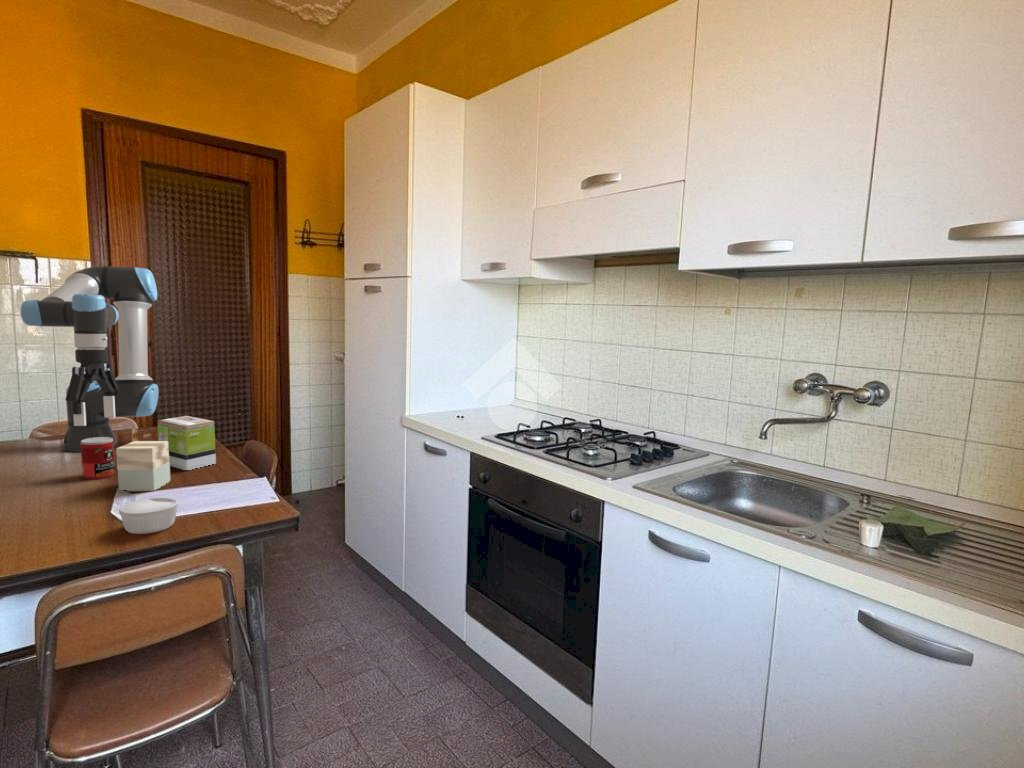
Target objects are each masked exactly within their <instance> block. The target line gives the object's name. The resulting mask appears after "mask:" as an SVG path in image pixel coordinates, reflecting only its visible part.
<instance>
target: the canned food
mask: <svg viewBox="0 0 1024 768" xmlns="http://www.w3.org/2000/svg"><path fill="white" fill-rule="evenodd" d="M114 448H115V446H114V444H113V438H111V437H94V438H88V439H84V440H81V452H80V456H81V469H82V470H81V471H82V477H83V478H84V479H85V480H102V479H107V478H108V479H109V478H111V477H113V476H114V475H115V473H116V472H115V471H116V467H115V464H116V463H115V449H114Z"/></svg>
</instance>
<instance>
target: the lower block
mask: <svg viewBox="0 0 1024 768" xmlns="http://www.w3.org/2000/svg"><path fill="white" fill-rule="evenodd" d="M117 478H118V479H117V480H118V491H119V490H127V491H126V492H154V491H153V490H155V491H156V489H157V490H158V489H160V488H162V487H163V486H165V485H167V484H168V483H170V482H171V466H170V462H167V463H165V464H163V465H162V466H160V467H158V468H156V469H154V470H117ZM169 481H170V482H169ZM166 483H167V484H166ZM161 486H162V487H161Z"/></svg>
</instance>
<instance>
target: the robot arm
mask: <svg viewBox="0 0 1024 768" xmlns="http://www.w3.org/2000/svg"><path fill="white" fill-rule="evenodd" d="M106 299H107V300H112V304H113V305H112V304H111V303H107V302H106ZM157 300H158V289H157V284H156V280H155V278H154V274H153V273H152V271H151V270H149V269H148V268H141V267H137V266H134V267H133V266H132V267H130V266H110V265H109V266H108V265H96V266H95V265H94V266H89V267H86V268H82V269H80V270H77V271H74V272H73V273H72V274H70V275H68V276H67V277H66V278H65V280H64V283H63V284H62V285H60V286H59V287H58V288H56V289H55V290H54V291H52V292H50V294H47V295H46V296H45V297H44V298H43V299H41V300H38V299H33V300H32V299H30V300H29V299H27V300H24V301H23V302H22V303H21V306H20V316H21V320H22V321H23V323H24V324H25V325H27V326H29V327H53V328H56V327H57V328H59V327H60V328H61V327H62V328H65V327H68V328H71V327H72V328H73V337H74V338H73V340H74V348H77V349H75V350H74V353H75V362H76V363H79V364H80V366H73V367H72V368H71V378H70V382H69V385H68V387H67V388H66V389H65V390H66V391H65V401H66V403H65V404H66V414H67V415H66V417H67V428H66V429H67V430H66V433H65V436H64V438H63V441H62V450H63V451H64V450H65V452H69V451H70V452H71V453H72V452H73V453H81V440H84V439H88V438H94V437H111V438H113V444H114V447H116V446H117V445H116V444H117V438H116V435H115V433H114V431H113V429H112V427H111V424H110V419H111V418H113V419H114V418H133V417H135V418H140V417H148V416H151V415H153V414H154V413H155V411H156V409H157V405H158V401H159V400H158V399H159V386H158V384H156V383H154V380H153V378H152V377H151V376H149V371H148V370H149V369H148V367H149V363H148V360H149V359H148V353H149V352H148V310H149V309H150V308H151V307H153V302H155V301H157ZM117 322H118V376H116V377H115V375H114V372H113V369H112V364H111V363H106V362H109V350H108V349H106V348H108V335H107V331H108V330H107V328H109V327H112V326H113V325H115V324H116V323H117Z"/></svg>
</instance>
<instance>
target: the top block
mask: <svg viewBox="0 0 1024 768" xmlns="http://www.w3.org/2000/svg"><path fill="white" fill-rule="evenodd" d="M115 449H116V450H115V451H116V464H117V465H116V468H117V471H118V470H154V469H156V468H158V467H160V466H162V465H163V464H165V463H167V462H169V447H168V441H159V440H133V441H131V442H129V443H126V444H124V445H122V446H119V447H116V448H115Z"/></svg>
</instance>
